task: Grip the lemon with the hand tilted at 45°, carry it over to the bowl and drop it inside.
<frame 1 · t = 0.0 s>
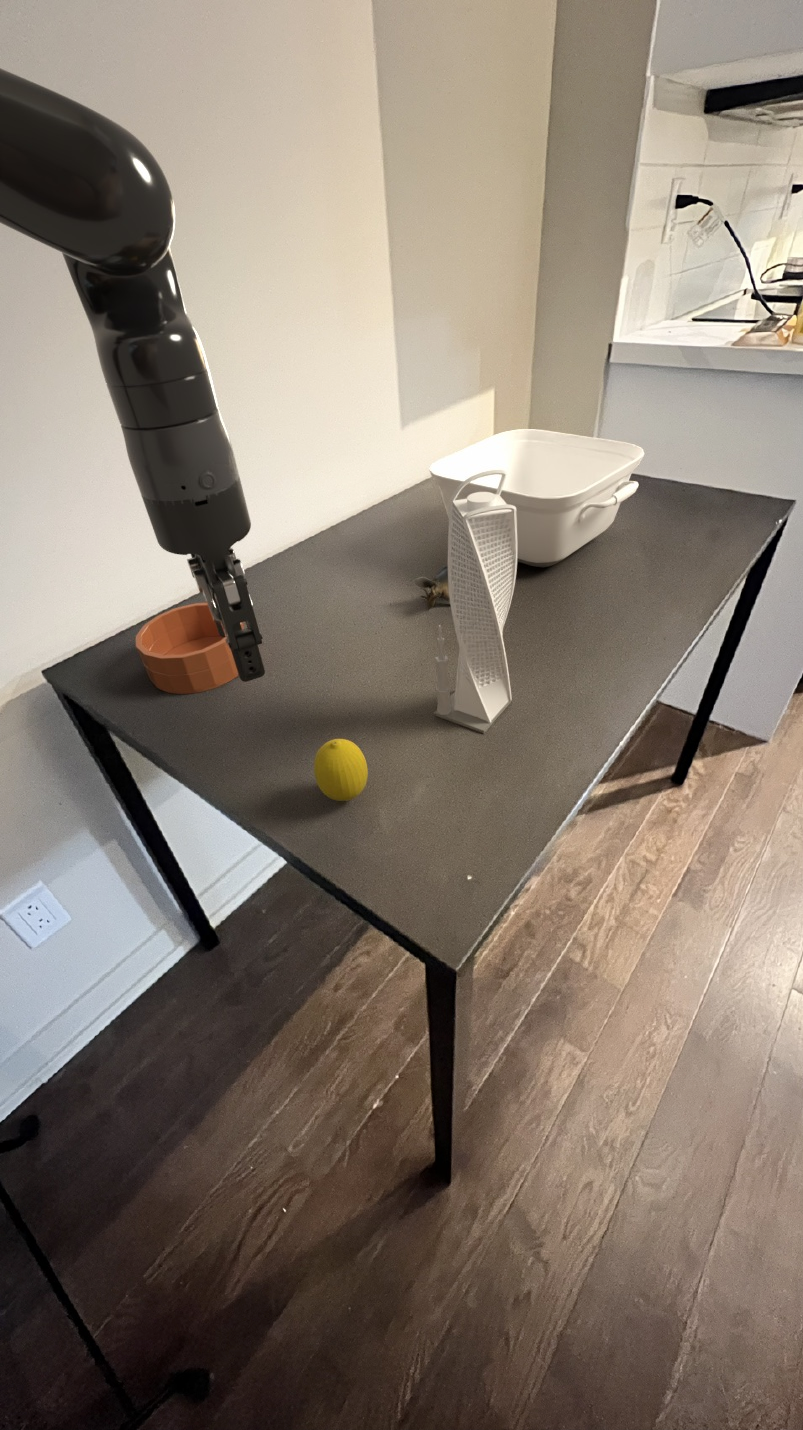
hand: (241, 654, 58), 18 cm above the table, tool pointing down, fingers open, 8 cm apart
white tub with handles: (531, 543, 113), on the table
lemon: (346, 798, 68), on the table
white tall perforated tower: (480, 707, 78), on the table
bowl: (201, 663, 91), on the table
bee: (448, 602, 99), on the table
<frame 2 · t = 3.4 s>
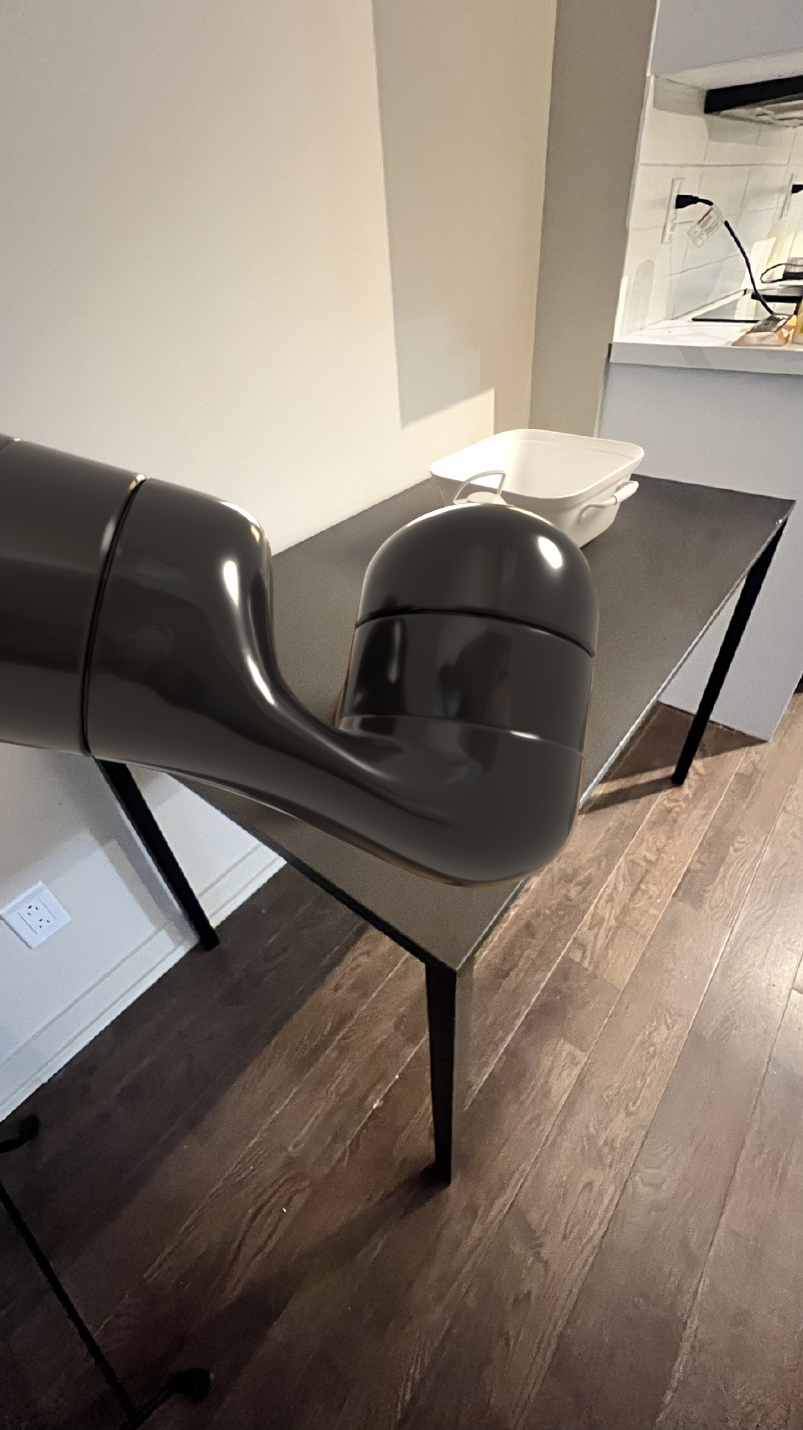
hand: (357, 765, 50), 15 cm above the table, tool tilted 45°, fingers open, 8 cm apart
nothing on the table moved.
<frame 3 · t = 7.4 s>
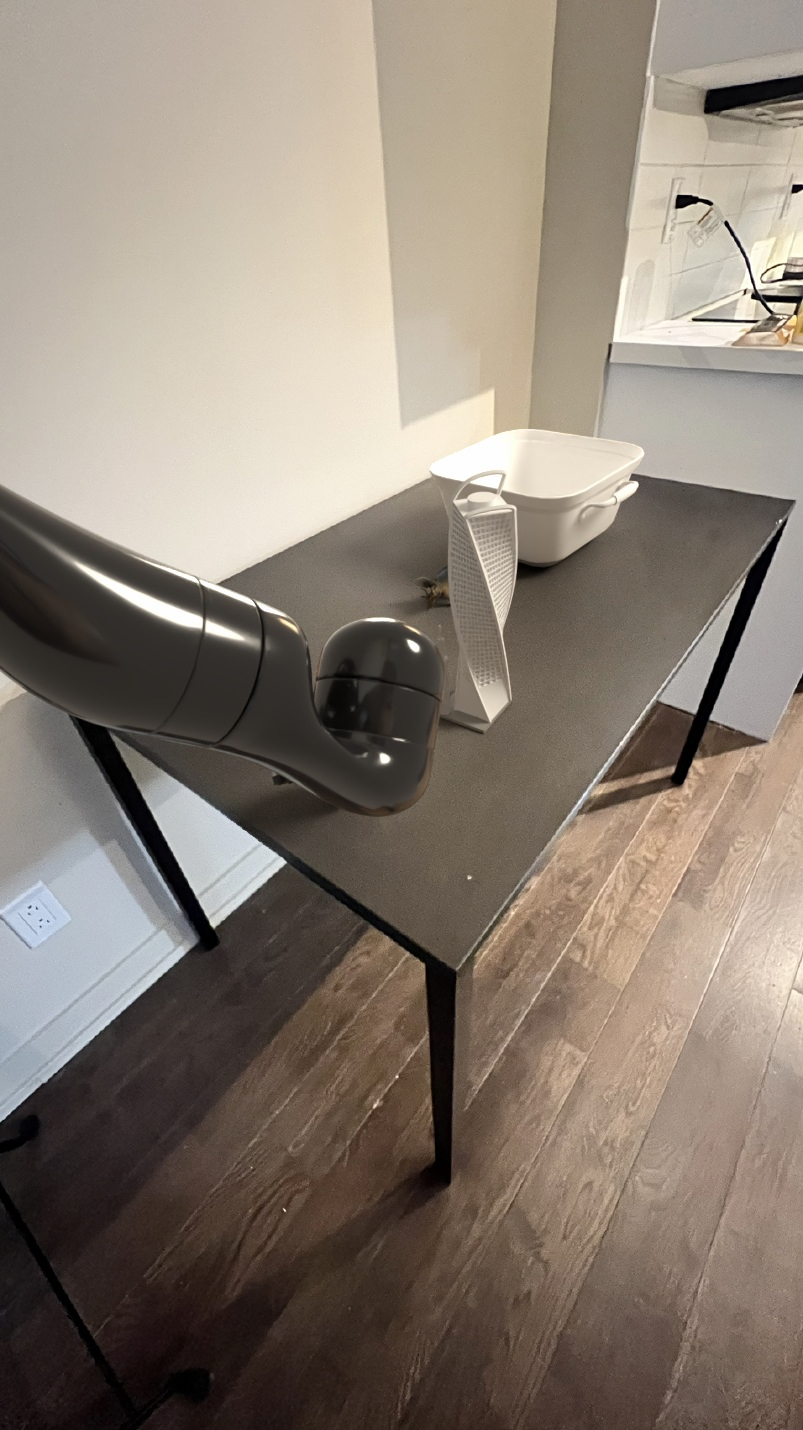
hand: (336, 758, 66), 4 cm above the table, tool tilted 45°, fingers closed on lemon, 5 cm apart
lemon: (346, 798, 68), on the table, touching gripper
everything else where it was.
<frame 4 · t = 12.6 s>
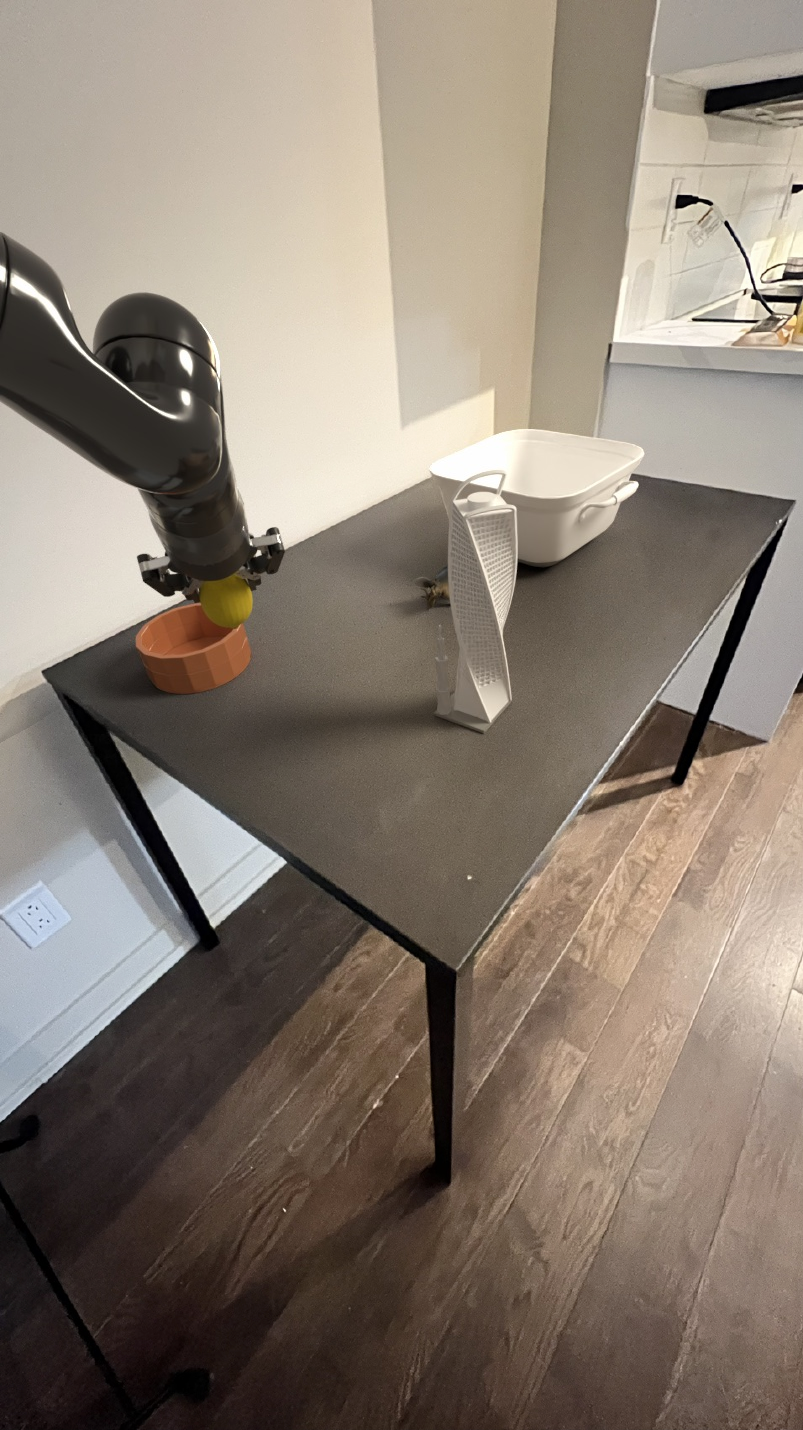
hand: (224, 588, 69), 18 cm above the table, tool tilted 45°, fingers closed on lemon, 5 cm apart
lemon: (235, 630, 71), point 14 cm above the table, touching gripper
everything else where it was.
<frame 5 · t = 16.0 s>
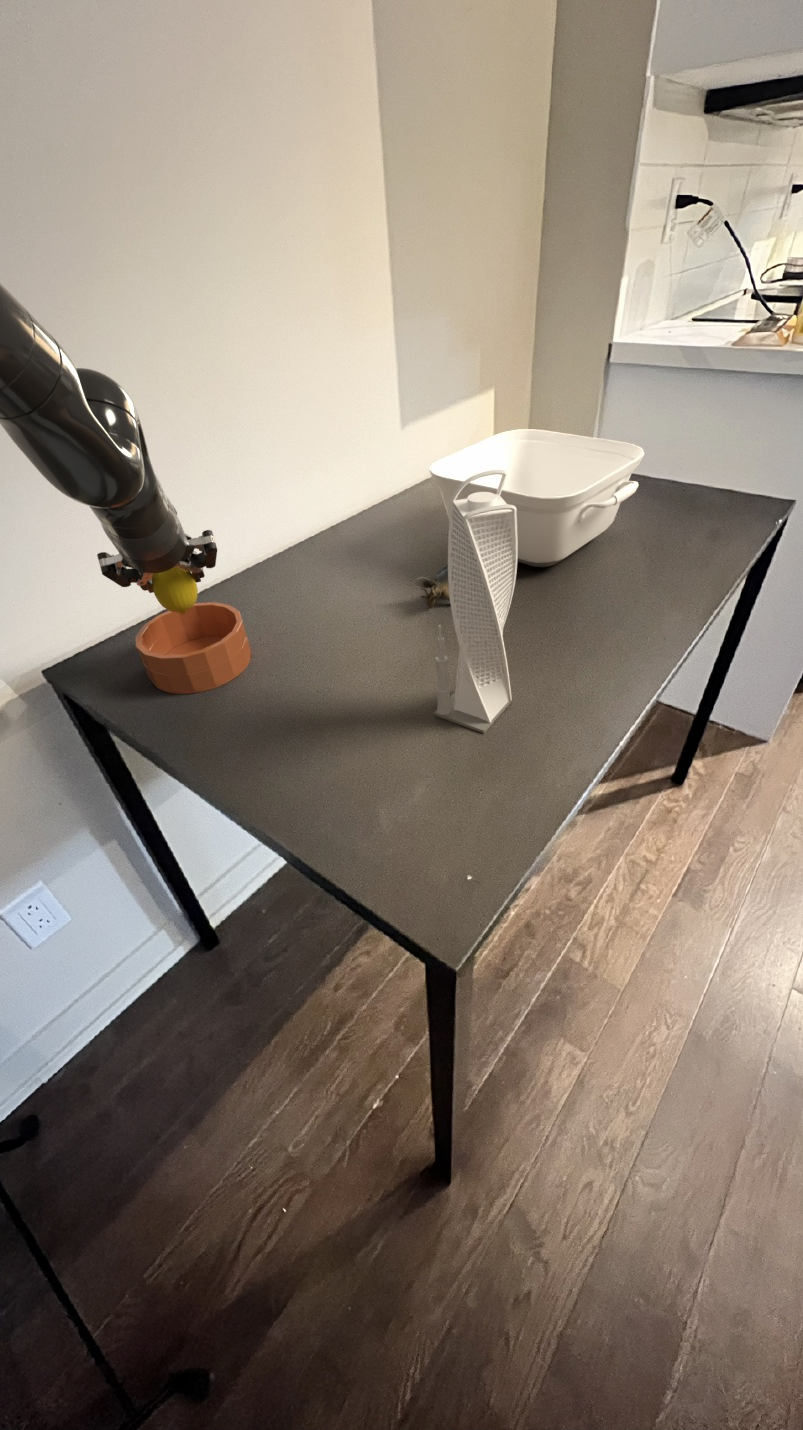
hand: (174, 580, 84), 13 cm above the table, tool tilted 45°, fingers closed on lemon, 5 cm apart
lemon: (185, 614, 86), point 8 cm above the table, touching gripper
everything else where it was.
when the fingers open (8 cm above the table, at t = 18.0 s): lemon drops 3 cm, resting on bowl.
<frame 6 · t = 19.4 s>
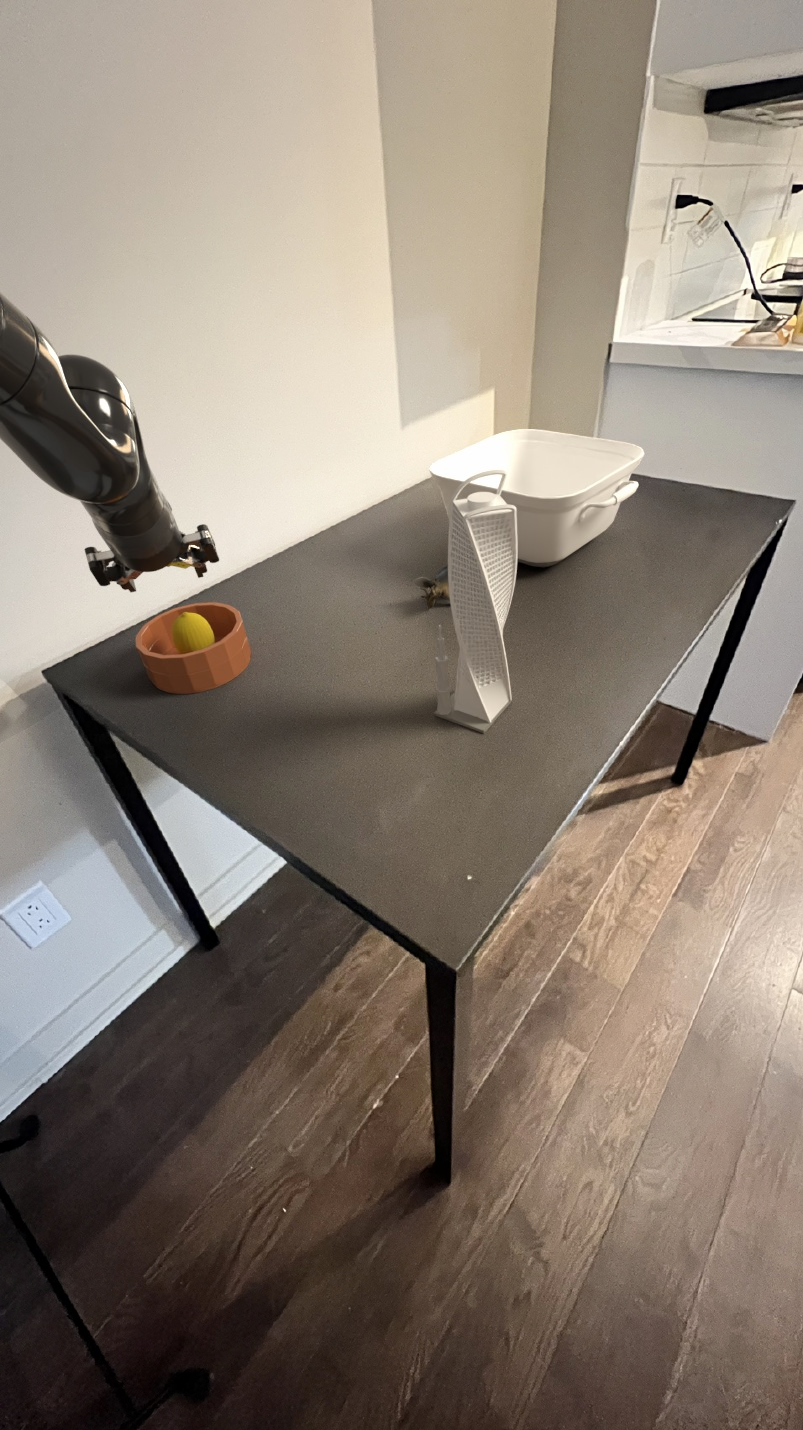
hand: (166, 577, 81), 15 cm above the table, tool tilted 45°, fingers open, 8 cm apart
lemon: (202, 661, 91), resting on bowl
everything else where it was.
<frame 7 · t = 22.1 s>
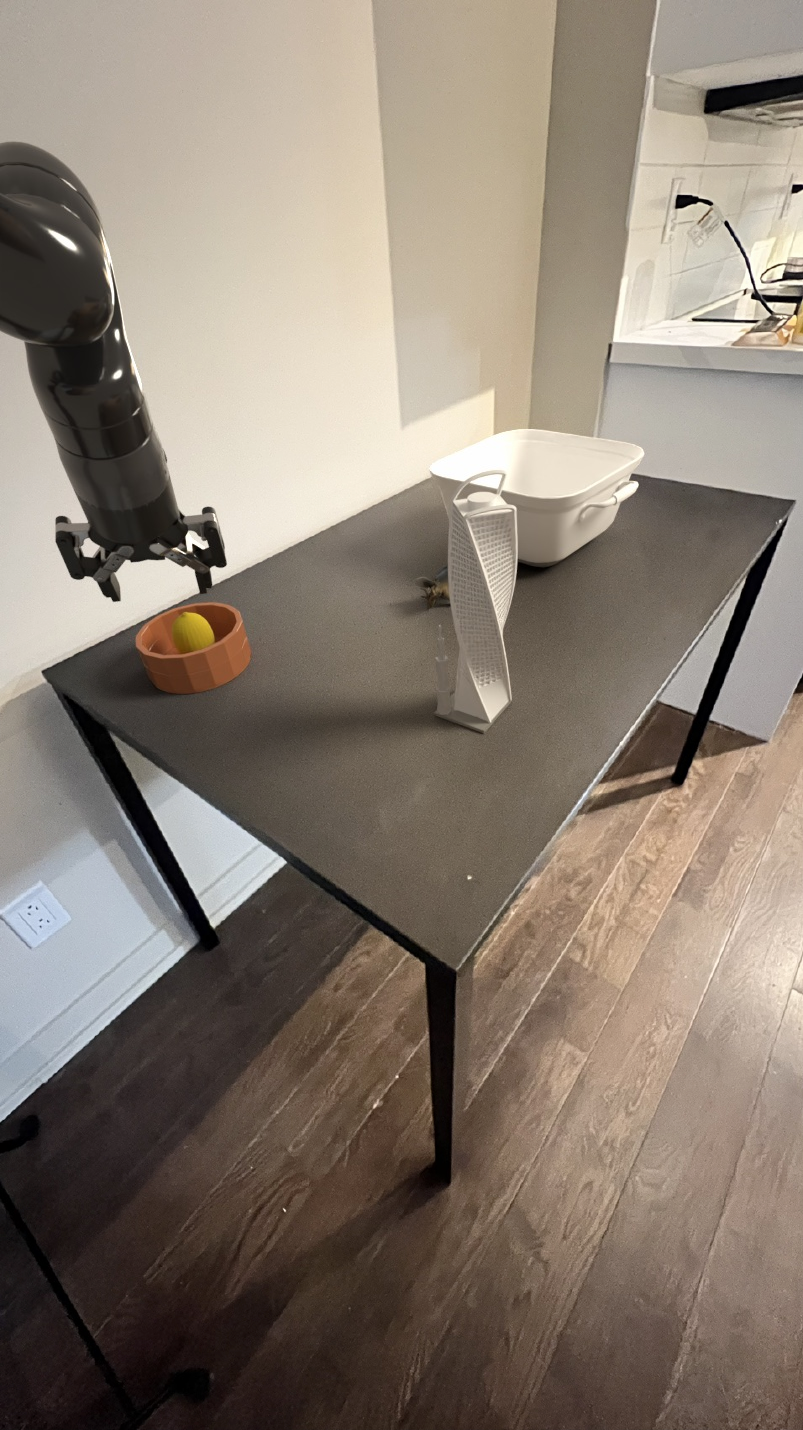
hand: (160, 590, 65), 20 cm above the table, tool tilted 30°, fingers open, 8 cm apart
nothing on the table moved.
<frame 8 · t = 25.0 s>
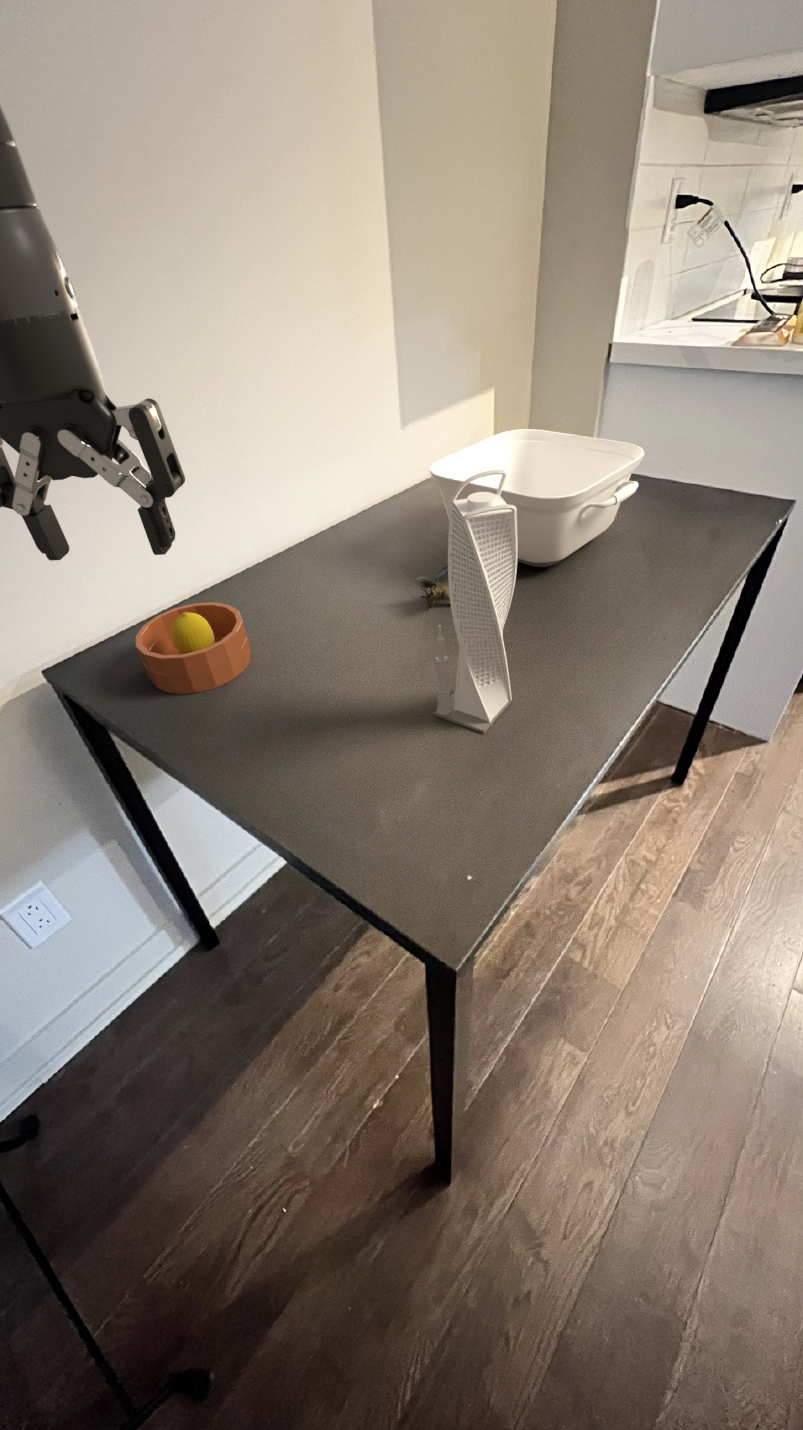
hand: (112, 553, 49), 30 cm above the table, tool pointing down, fingers open, 8 cm apart
nothing on the table moved.
at the end: lemon inside the target area in the bowl (0.2 cm from its centre), point 0.3 cm above the bowl's base; the gripper is holding nothing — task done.
